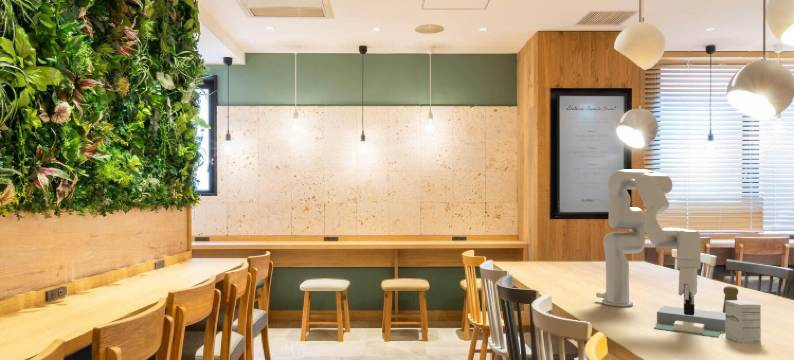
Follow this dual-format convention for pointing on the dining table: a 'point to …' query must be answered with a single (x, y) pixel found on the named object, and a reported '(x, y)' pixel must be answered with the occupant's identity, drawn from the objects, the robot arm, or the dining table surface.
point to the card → (689, 326)
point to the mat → (671, 328)
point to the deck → (692, 317)
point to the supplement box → (743, 321)
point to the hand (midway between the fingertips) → (689, 314)
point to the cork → (729, 294)
